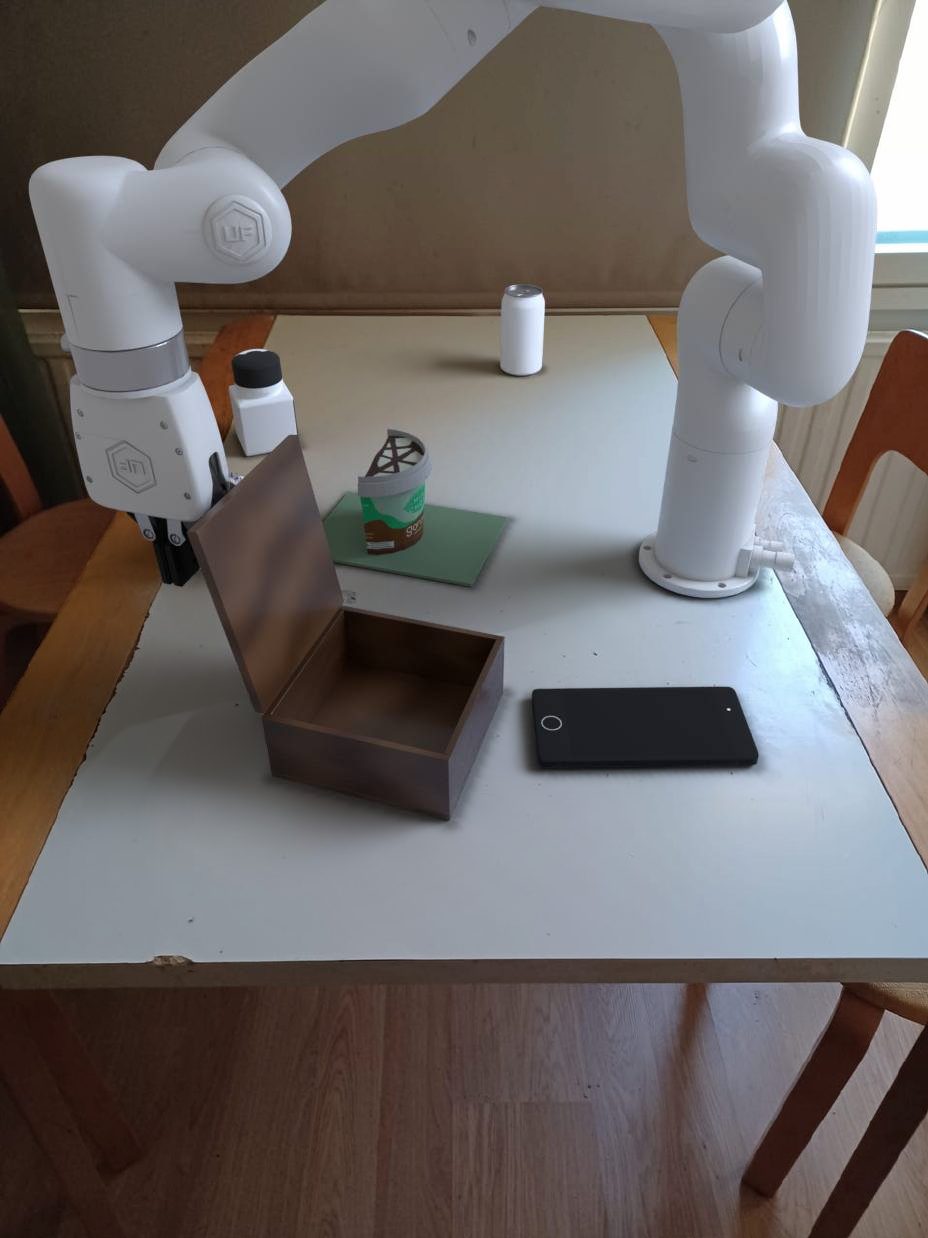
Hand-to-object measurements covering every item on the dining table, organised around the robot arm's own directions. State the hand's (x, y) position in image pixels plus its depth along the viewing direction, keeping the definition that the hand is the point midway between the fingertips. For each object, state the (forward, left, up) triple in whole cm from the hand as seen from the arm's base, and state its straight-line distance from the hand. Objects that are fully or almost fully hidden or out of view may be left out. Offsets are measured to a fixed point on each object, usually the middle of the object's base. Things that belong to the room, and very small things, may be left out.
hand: (182, 575), depth 74 cm
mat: (-8, -30, -13) cm, 33 cm away
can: (-8, -81, -13) cm, 82 cm away
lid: (-9, 0, +2) cm, 9 cm away
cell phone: (-38, -7, -13) cm, 40 cm away
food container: (-8, -30, -13) cm, 33 cm away
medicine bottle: (+18, -47, -13) cm, 52 cm away
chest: (-18, 0, -13) cm, 22 cm away
